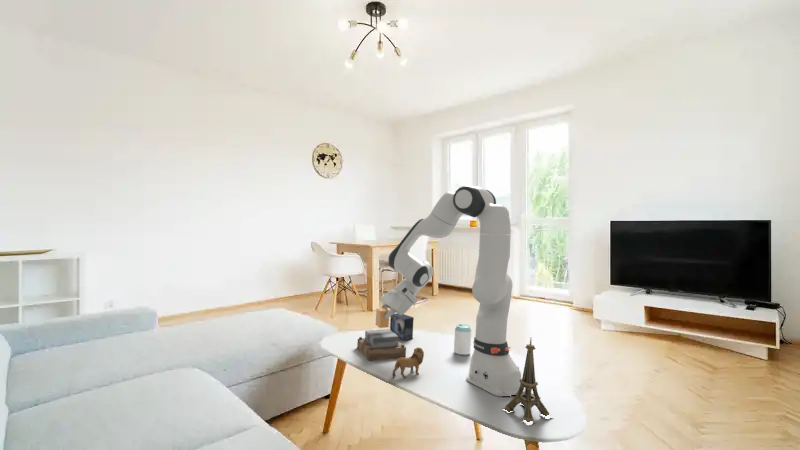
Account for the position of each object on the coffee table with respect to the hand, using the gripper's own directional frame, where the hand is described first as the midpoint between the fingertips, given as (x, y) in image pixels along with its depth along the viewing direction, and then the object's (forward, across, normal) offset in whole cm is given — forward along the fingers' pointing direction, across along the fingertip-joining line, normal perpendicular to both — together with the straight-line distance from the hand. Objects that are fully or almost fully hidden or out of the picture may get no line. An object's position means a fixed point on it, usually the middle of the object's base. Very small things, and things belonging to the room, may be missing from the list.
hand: (382, 315), depth 163 cm
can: (-13, +10, +35) cm, 39 cm away
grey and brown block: (+11, 0, +11) cm, 16 cm away
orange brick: (+3, 0, +3) cm, 4 cm away
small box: (-1, -18, +24) cm, 29 cm away
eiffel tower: (-6, +62, +28) cm, 69 cm away
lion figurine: (+10, +25, +12) cm, 29 cm away
